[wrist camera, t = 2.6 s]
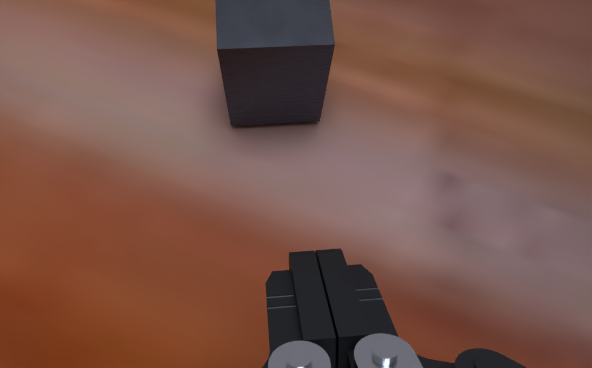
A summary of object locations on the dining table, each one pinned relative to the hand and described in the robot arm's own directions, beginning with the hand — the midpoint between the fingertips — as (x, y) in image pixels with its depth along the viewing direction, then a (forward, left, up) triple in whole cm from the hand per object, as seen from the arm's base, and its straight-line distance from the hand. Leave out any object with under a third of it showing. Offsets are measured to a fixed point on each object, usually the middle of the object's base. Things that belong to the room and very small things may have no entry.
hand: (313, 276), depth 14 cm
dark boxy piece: (-17, -14, -15) cm, 27 cm away
